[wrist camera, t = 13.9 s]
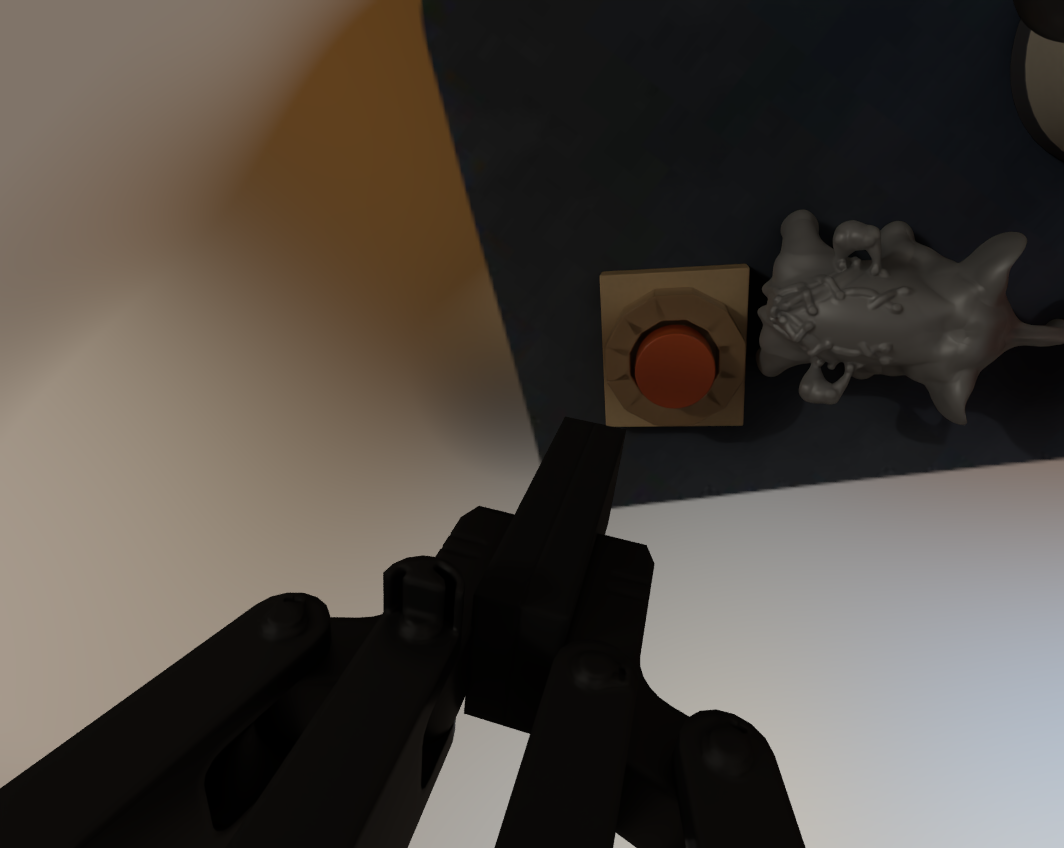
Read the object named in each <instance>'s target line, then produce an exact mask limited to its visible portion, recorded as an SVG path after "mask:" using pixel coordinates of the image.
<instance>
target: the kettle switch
mask: <svg viewBox="0 0 1064 848" xmlns="http://www.w3.org/2000/svg"><path fill="white" fill-rule="evenodd" d="M1013 1H1014V5H1015V8H1016V11H1017V13H1018V15H1019V16H1020V18H1021V20H1022V21H1023V22H1024V24H1025V25H1026V26H1027V27H1028V28H1029V29H1030V30H1032V31H1033V32H1034V33H1036V34H1037V35H1039V36H1041V37H1043V38H1045V39H1048V40H1052V41H1055V42H1061V43H1064V0H1013Z"/></svg>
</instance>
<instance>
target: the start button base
mask: <svg viewBox="0 0 1064 848" xmlns="http://www.w3.org/2000/svg"><path fill="white" fill-rule="evenodd" d="M749 274H750V268H749V267H748V265H747V264H733V265H715V266H697V267H679V268H660V269H642V270H624V271H606V272H601V275H600V296H601V319H602V342H603V366H604V389H605V412H606V425H607V426H611V427H649V426H743V415H744V392H745V368H746V345H747V321H748V297H749ZM667 325H684V326H688V327H690V328H693V329H695V330H696V331H698V332H699V333H700V334H702V335H703V336H704V338H705V339H706V340H707V342H708V343H709V345H710V347H711V350H712V354H713V357H714V361H715V367H716V373H715V379H714V382H713V385H712V387H711V388H710V390H709V391H708V393H707V394H706V395H705V396H704V397H703V398H702V399H701V400H699V401H698V402H696V403H695V404H692V405H690V406H687V407H684V408H676V409H673V408H665V407H661V406H658V405H656V404H654V403H652V402H651V401H650V400H648V399H647V398H646V397H645V396H644V395H643V394H642V392H641V391H640V389H639V387H638V385H637V382H636V378H635V364H636V356H637V352H638V349H639V347H640V344H641V343H642V341H643V340H644V339H645V338H646V337H647V336H648V335H649V334H650V333H651V332H653V331H654V330H656V329H658V328H660V327H663V326H667Z"/></svg>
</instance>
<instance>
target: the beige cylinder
mask: <svg viewBox="0 0 1064 848" xmlns="http://www.w3.org/2000/svg"><path fill="white" fill-rule="evenodd" d="M1010 77H1011V89H1012V95H1013V101H1014V104H1015V106H1016V109H1017V112H1018V115H1019V117H1020V119H1021V121H1022V123H1023V125H1024V127H1025V128H1026V130H1027V131H1028V132H1029V134H1030V135H1031V136H1032V138H1033V139H1034V140H1035V141H1036V142H1037V143H1038V144H1039V145H1040V146H1041V147H1042V148H1044V149H1045V150H1046V151H1047V152H1049V153H1050V154H1052V155H1054V156H1055V157H1057V158H1058V159H1060V160H1063V161H1064V43H1061V42H1055V41H1052V40H1048V39H1045V38H1043V37H1041V36H1039V35H1037V34H1036V33H1034V32H1033V31H1032V30H1030V29H1029V28H1028V27H1027V26H1026V25H1025V24H1024V22H1023V21H1022V20H1020V22H1019V25H1018V28H1017V31H1016V35H1015V39H1014V44H1013V48H1012V55H1011V65H1010Z"/></svg>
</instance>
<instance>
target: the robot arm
mask: <svg viewBox="0 0 1064 848" xmlns="http://www.w3.org/2000/svg"><path fill="white" fill-rule="evenodd" d="M625 433H626V430H625V429H621V428H616V427H611V426H607V425H602V424H597V423H593V422H588V421H583V420H578V419H574V418H569V417H565V418H564V420H563V422H562V424H561V426H560V428H559V430H558V431H557V433H556V435H555V437H554V439H553V441H552V443H551V445H550V447H549V449H548V451H547V453H546V455H545V457H544V459H543V461H542V462H541V464H540V466H539V468H538V470H537V472H536V474H535V476H534V478H533V480H532V482H531V484H530V486H529V488H528V490H527V492H526V494H525V495H524V497H523V499H522V501H521V503H520V505H519V507H518V509H517V511H516V513H515V515H514V514H510V513H506V512H502V511H498V510H494V509H490V508H486V507H482V506H478V507H476V508H475V509H473V510H472V511H470V512H468V513H467V514H465V515H464V516H462V517H461V518H460V520H459V521H458V523H457V524H456V526H455V527H454V529H453V530H452V532H451V535H450V536H449V537H448V538H447V540H446V541H445V543H444V544H443V547H442V549H440V551H439V552H438V554H437V555H436V557H430V556H416V557H409V558H405V559H403V560H401V561H398V562H396V563H394V564H392V565H391V566H390V567H389V568H388V569H387V570H386V571H385V572H384V573H383V574H384V575H383V580H384V581H383V582H384V583H383V585H384V586H383V587H384V589H383V591H384V612H383V614H381V615H378V616H374V617H362V618H345V617H339V618H338V617H330V614H329V611H328V608H327V605H326V604H324V603H323V602H322V601H321V600H320V599H319V598H317V597H315V596H312V595H309V594H306V593H284V594H280V595H276V596H272V597H269V598H268V599H266V600H264V601H262V602H260V603H258V604H256V605H255V606H253V607H252V608H251V609H249V610H248V611H246V612H245V613H244V614H243V615H241V616H240V617H238V618H237V619H236V620H234V621H233V622H231V623H230V624H228V625H227V626H226V627H224V628H223V629H221V630H220V631H219V632H217V633H216V634H215V635H213V636H212V637H210V638H209V639H208V640H206V641H205V642H203V643H202V644H201V645H199V646H198V647H196V648H195V649H194V650H192V651H191V652H190V653H188V654H187V655H185V656H184V657H183V658H181V659H180V660H179V661H177V662H176V663H174V664H173V665H171V666H170V667H169V668H167V669H166V670H164V671H163V672H162V673H160V674H159V675H158V676H156V677H155V678H153V679H152V680H151V681H149V682H148V683H147V684H145V685H144V686H143V687H141V688H140V689H138V690H137V691H135V692H134V693H132V694H131V695H130V696H129V697H127V698H126V699H124V700H123V701H121V702H120V703H119V704H117V705H116V706H114V707H113V708H112V709H110V710H109V711H107V712H106V713H105V714H103V715H102V716H100V717H99V718H98V719H96V720H95V721H93V722H92V723H91V724H89V725H88V726H86V727H85V728H84V729H82V730H81V731H80V732H78V733H77V734H76V735H74V736H73V737H71V738H70V739H68V740H67V741H66V742H64V743H63V744H61V745H60V746H59V747H57V748H56V749H54V750H53V751H52V752H50V753H49V754H48V755H46V756H45V757H43V758H42V759H41V760H39V761H38V762H36V763H35V764H34V765H32V766H31V767H30V768H28V769H27V770H25V771H24V772H22V773H21V774H20V775H18V776H17V777H16V778H14V779H13V780H11V781H10V782H9V783H7V784H6V785H4V786H3V787H2V788H0V848H408V845H409V843H410V841H411V838H412V836H413V834H414V831H415V829H416V826H417V824H418V822H419V820H420V817H421V815H422V813H423V810H424V808H425V805H426V803H427V801H428V798H429V796H430V794H431V791H432V789H433V787H434V784H435V782H436V780H437V777H438V775H439V772H440V770H441V768H442V766H443V763H444V761H445V758H446V756H447V754H448V751H449V749H450V747H451V744H452V742H453V736H454V732H455V720H456V716H457V714H458V712H459V709H460V707H461V705H462V702H463V700H464V698H465V708H464V714H468V715H471V716H474V717H477V718H480V719H484V720H487V721H490V722H494V723H497V724H500V725H503V726H506V727H510V728H513V729H516V730H520V731H522V732H526V733H529V734H530V737H529V740H528V743H527V746H526V750H525V753H524V756H523V759H522V762H521V765H520V768H519V772H518V775H517V778H516V781H515V784H514V787H513V791H512V794H511V797H510V800H509V803H508V807H507V810H506V813H505V816H504V819H503V823H502V826H501V829H500V832H499V836H498V839H497V842H496V845H495V848H613V845H614V838H615V832H616V833H617V834H618V835H620V836H621V837H623V838H624V839H625V840H627V841H628V842H630V843H631V844H632V845H634V846H635V847H636V848H805V845H804V842H803V839H802V836H801V833H800V830H799V827H798V824H797V821H796V818H795V815H794V812H793V810H792V806H791V803H790V800H789V797H788V794H787V791H786V788H785V785H784V782H783V779H782V776H781V773H780V770H779V767H778V764H777V761H776V758H775V756H774V753H773V751H772V750H771V748H770V746H769V744H768V742H767V740H766V738H765V737H763V735H762V734H761V733H759V731H758V730H757V729H756V728H755V727H754V726H753V725H752V724H750V723H749V722H747V721H745V720H743V719H742V718H740V717H738V716H736V715H735V714H732V713H728V712H724V711H720V710H706V711H699V712H697V713H695V714H693V715H692V716H690V717H689V716H687V715H685V714H684V713H682V712H680V711H679V710H677V709H675V708H674V707H672V706H670V705H669V704H668V703H666V702H665V701H663V700H662V699H661V698H659V697H658V696H657V694H656V693H654V691H653V690H652V689H651V688H650V687H649V685H648V684H647V682H646V680H645V679H644V677H643V674H642V671H641V667H640V654H641V648H642V641H643V635H644V628H645V622H646V614H647V608H648V601H649V596H650V589H651V583H652V576H653V570H654V562H653V559H652V557H651V555H650V552H649V550H648V548H647V545H644V544H640V543H635V542H631V541H627V540H623V539H619V538H615V537H610V536H607V535H605V532H606V529H607V525H608V521H609V516H610V511H611V506H612V500H613V495H614V490H615V485H616V480H617V475H618V470H619V464H620V459H621V454H622V449H623V444H624V439H625Z"/></svg>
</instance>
